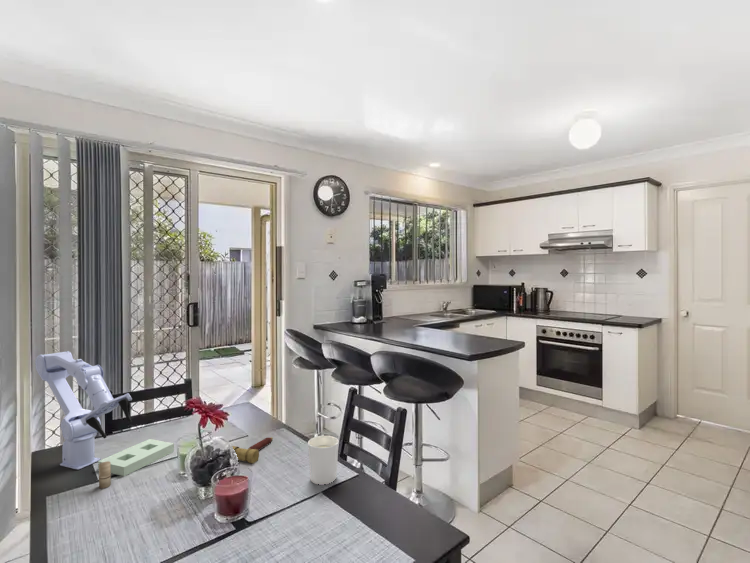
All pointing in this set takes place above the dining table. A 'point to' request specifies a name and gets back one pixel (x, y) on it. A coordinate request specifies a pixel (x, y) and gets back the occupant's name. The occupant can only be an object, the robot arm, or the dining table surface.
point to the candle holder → (323, 459)
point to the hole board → (138, 456)
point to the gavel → (251, 451)
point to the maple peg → (104, 474)
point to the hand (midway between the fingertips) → (117, 429)
